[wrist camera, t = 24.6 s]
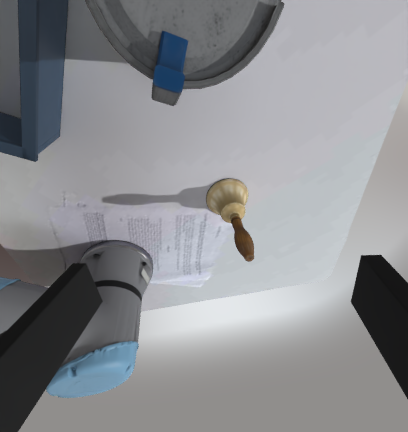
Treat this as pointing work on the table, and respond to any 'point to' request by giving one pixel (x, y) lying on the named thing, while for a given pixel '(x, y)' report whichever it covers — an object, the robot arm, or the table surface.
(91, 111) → the table surface
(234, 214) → the hand bell
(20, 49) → the dark blue open box
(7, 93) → the table surface
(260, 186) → the table surface
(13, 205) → the table surface
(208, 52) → the grey piece
